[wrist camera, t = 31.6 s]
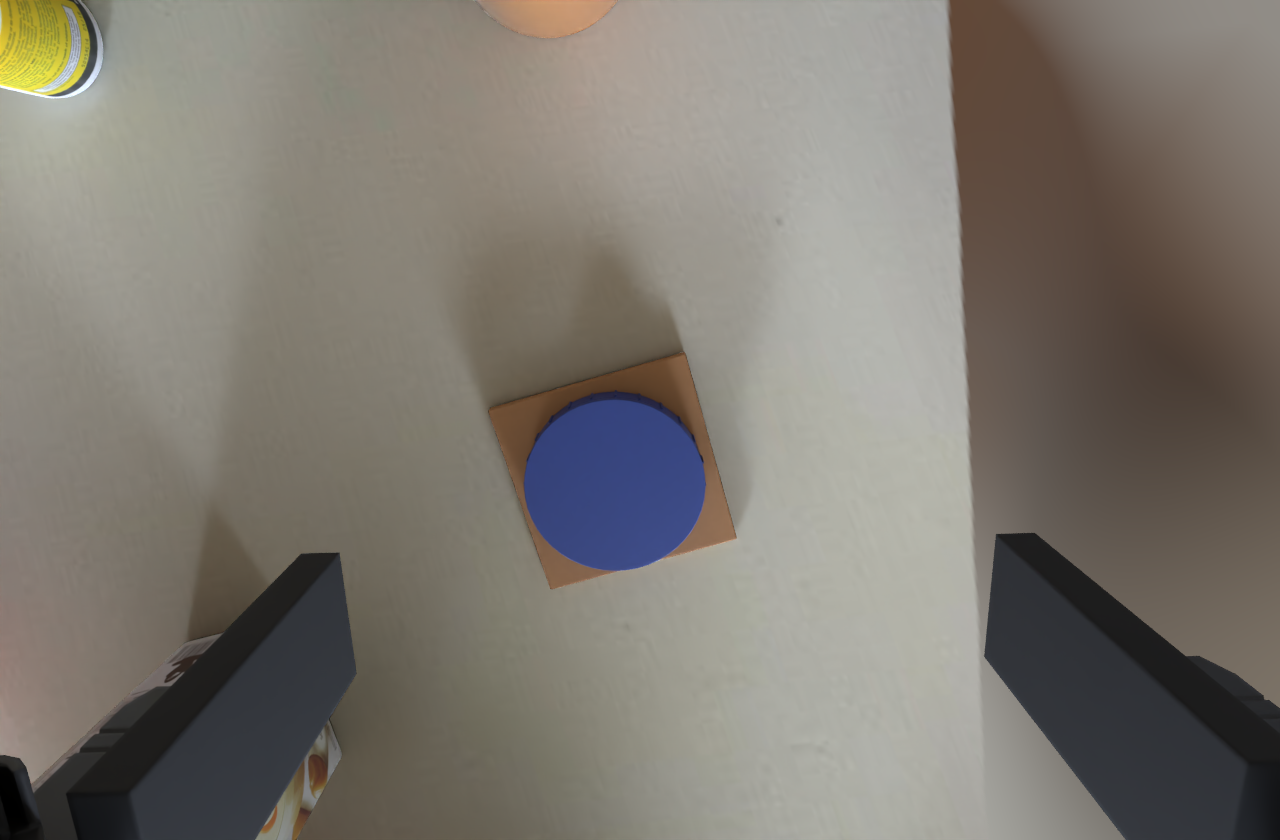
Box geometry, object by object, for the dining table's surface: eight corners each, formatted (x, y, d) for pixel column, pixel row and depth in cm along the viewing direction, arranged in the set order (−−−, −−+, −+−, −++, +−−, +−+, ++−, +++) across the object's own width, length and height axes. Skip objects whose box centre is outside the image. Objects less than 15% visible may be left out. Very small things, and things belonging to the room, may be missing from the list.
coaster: (684, 351, 38) (685, 353, 37) (735, 534, 40) (737, 539, 40) (489, 407, 38) (487, 410, 38) (551, 585, 41) (550, 590, 40)
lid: (541, 566, 40) (537, 581, 38) (514, 401, 38) (509, 409, 36) (711, 547, 40) (714, 561, 38) (694, 380, 38) (697, 387, 36)
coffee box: (349, 755, 43) (193, 1056, 28) (241, 780, 44) (26, 1091, 28) (290, 611, 41) (84, 850, 26) (176, 638, 41) (-96, 891, 26)
